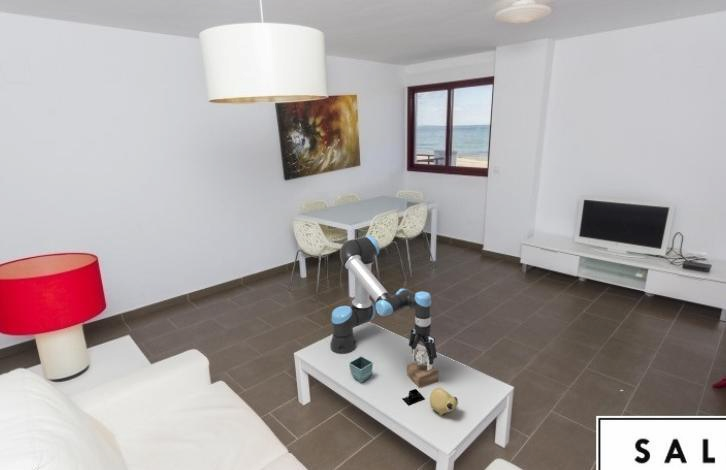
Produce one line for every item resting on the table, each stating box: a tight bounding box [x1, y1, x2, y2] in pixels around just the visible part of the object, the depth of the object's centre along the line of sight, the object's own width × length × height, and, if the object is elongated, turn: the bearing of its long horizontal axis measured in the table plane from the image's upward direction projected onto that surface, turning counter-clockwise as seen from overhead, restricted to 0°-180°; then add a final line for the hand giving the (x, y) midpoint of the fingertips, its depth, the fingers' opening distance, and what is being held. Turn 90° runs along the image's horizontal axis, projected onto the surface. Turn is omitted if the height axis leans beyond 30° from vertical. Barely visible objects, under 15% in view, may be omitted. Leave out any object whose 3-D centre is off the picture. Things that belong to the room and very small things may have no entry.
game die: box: [414, 350, 428, 367], centre depth 187 cm, size 9×8×10 cm
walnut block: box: [406, 362, 439, 389], centre depth 189 cm, size 11×11×6 cm
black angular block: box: [401, 388, 426, 407], centre depth 175 cm, size 12×7×5 cm, turn 116°
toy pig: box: [429, 387, 459, 416], centre depth 166 cm, size 10×12×11 cm
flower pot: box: [348, 355, 374, 383], centre depth 191 cm, size 9×9×9 cm
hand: (422, 364), depth 188 cm, fingers closed on game die, 9 cm apart
